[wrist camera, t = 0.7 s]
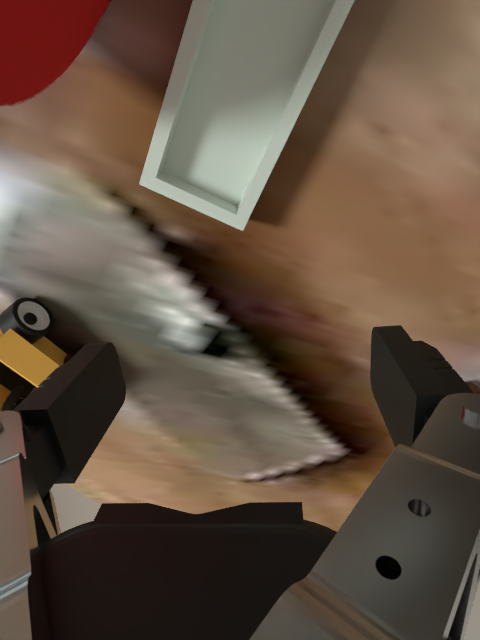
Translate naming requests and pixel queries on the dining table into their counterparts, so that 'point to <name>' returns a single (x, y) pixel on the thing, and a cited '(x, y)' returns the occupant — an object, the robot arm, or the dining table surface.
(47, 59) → the toy clock
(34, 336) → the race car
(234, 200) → the tray
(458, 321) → the dining table surface
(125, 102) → the dining table surface
